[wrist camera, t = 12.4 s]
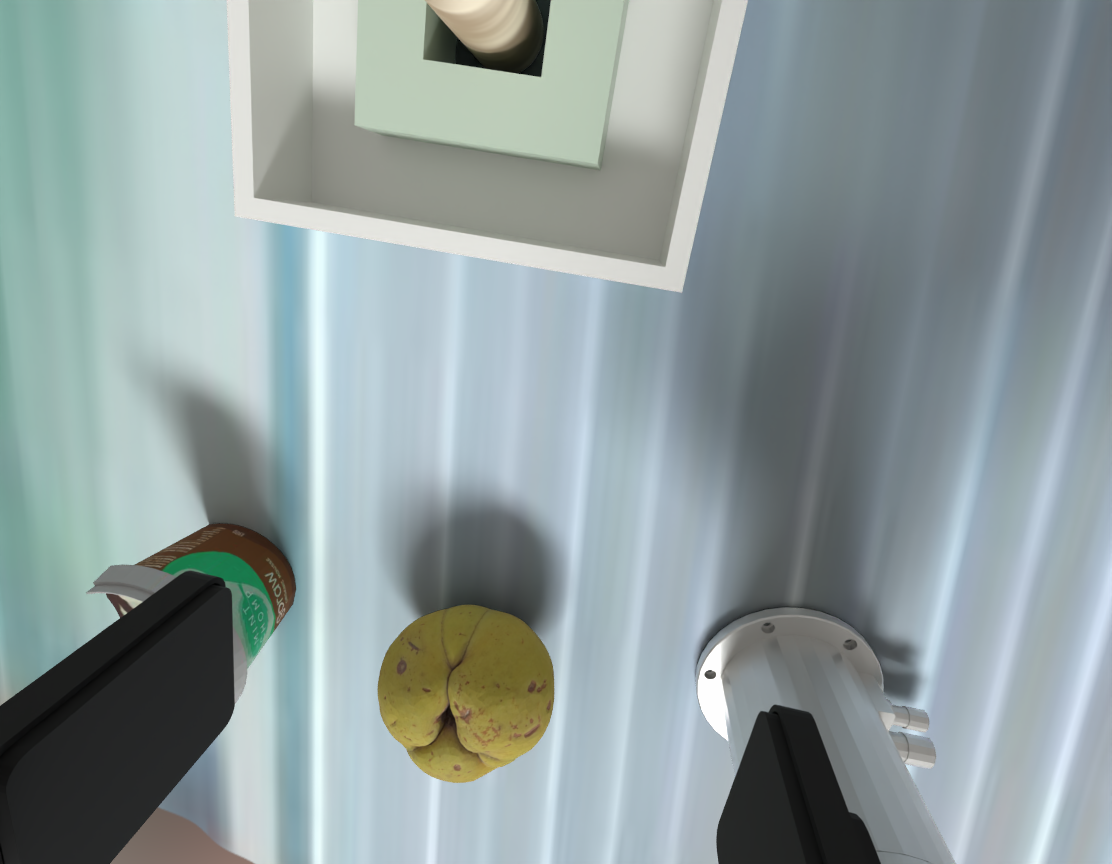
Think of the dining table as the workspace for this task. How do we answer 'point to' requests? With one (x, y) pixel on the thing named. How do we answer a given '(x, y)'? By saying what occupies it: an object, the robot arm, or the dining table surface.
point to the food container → (224, 553)
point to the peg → (495, 30)
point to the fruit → (466, 691)
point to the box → (485, 130)
